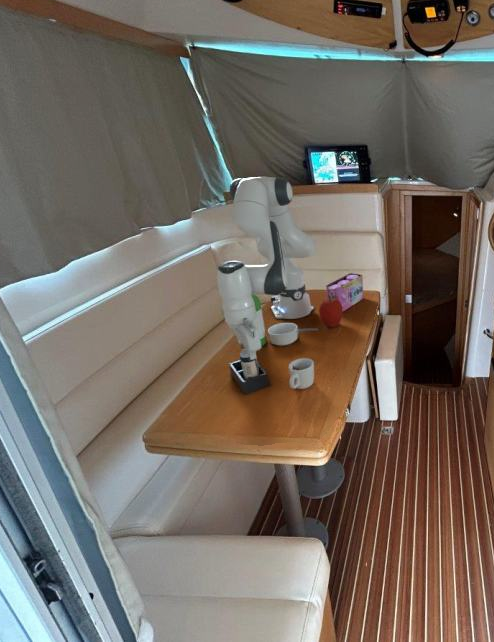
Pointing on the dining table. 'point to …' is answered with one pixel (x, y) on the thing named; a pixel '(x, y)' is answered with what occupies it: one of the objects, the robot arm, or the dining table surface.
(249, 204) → the robot arm
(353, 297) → the gum box
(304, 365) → the cup
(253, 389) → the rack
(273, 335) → the saucepan
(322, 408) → the dining table surface
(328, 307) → the apple
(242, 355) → the beer can
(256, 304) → the bottle
